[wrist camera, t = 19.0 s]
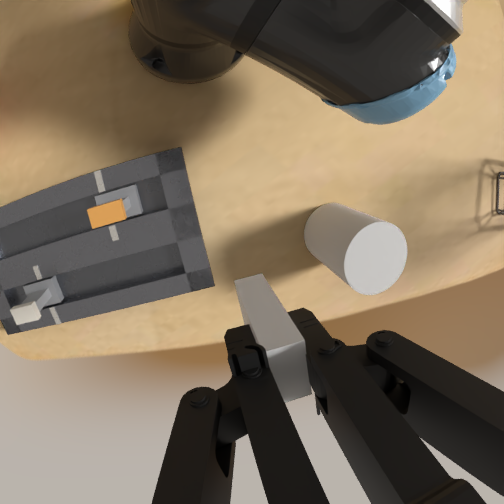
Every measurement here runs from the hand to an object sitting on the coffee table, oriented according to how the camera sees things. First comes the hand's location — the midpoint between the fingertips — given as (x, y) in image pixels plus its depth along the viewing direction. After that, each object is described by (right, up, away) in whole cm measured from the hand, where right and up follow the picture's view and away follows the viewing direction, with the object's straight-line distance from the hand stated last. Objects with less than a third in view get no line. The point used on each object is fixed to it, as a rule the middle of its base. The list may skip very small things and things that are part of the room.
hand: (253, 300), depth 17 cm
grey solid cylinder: (+11, +5, +27) cm, 29 cm away
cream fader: (-28, -3, +20) cm, 34 cm away
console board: (-22, +3, +20) cm, 30 cm away
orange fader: (-16, +8, +19) cm, 26 cm away
